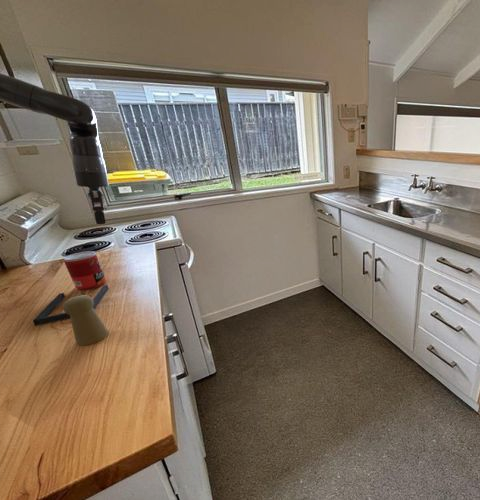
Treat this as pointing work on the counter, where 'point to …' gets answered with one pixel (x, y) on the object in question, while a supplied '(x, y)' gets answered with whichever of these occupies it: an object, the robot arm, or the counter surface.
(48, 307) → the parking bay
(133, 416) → the counter surface
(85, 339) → the cork
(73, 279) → the canned food
